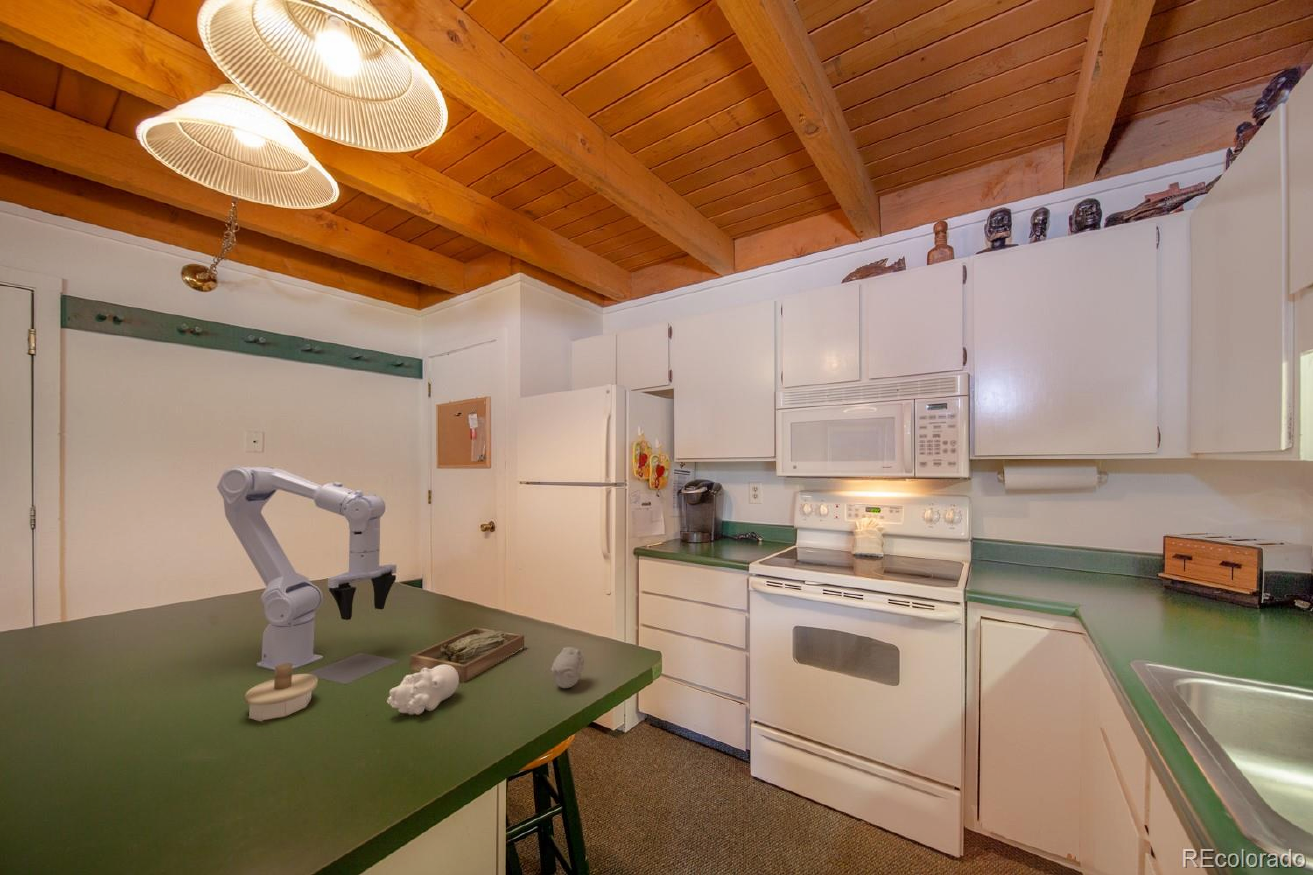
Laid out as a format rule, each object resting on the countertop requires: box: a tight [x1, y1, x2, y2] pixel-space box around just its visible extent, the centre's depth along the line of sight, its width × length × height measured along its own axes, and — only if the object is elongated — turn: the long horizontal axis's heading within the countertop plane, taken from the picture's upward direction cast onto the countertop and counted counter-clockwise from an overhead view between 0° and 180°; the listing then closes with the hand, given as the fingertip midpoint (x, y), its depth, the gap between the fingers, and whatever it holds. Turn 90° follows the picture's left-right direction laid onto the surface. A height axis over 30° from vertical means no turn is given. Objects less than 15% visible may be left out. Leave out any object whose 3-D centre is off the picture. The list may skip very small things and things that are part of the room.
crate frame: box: [409, 627, 525, 683], centre depth 105 cm, size 15×19×3 cm
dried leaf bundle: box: [439, 629, 508, 665], centre depth 105 cm, size 14×10×5 cm, turn 142°
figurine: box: [386, 664, 459, 716], centre depth 84 cm, size 7×7×12 cm
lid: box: [244, 663, 319, 706], centre depth 84 cm, size 10×10×4 cm
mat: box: [305, 652, 400, 685], centre depth 100 cm, size 12×12×1 cm
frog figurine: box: [550, 646, 585, 689], centre depth 92 cm, size 6×7×7 cm
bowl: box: [248, 690, 313, 722], centre depth 84 cm, size 8×8×3 cm
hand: (363, 613), depth 104 cm, fingers open, 7 cm apart
